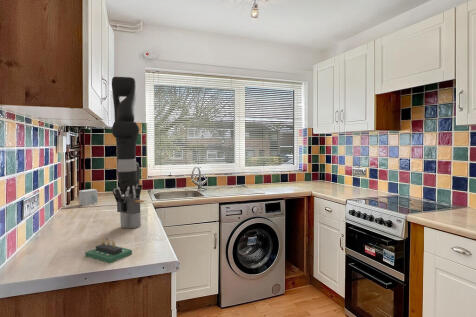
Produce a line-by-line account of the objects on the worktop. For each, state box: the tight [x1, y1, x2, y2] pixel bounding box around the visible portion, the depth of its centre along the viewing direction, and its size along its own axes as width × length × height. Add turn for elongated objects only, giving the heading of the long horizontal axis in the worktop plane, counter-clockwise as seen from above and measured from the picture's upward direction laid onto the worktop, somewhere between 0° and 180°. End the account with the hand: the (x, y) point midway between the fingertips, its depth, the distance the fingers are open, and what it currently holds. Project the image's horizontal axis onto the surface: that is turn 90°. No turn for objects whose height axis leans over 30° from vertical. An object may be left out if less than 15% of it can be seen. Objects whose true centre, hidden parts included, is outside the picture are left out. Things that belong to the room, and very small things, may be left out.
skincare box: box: [78, 188, 99, 206], centre depth 209 cm, size 10×6×10 cm, turn 141°
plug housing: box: [116, 197, 145, 214], centre depth 122 cm, size 13×4×6 cm, turn 61°
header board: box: [84, 237, 133, 264], centre depth 112 cm, size 14×10×6 cm
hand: (128, 210), depth 123 cm, fingers closed on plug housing, 3 cm apart
